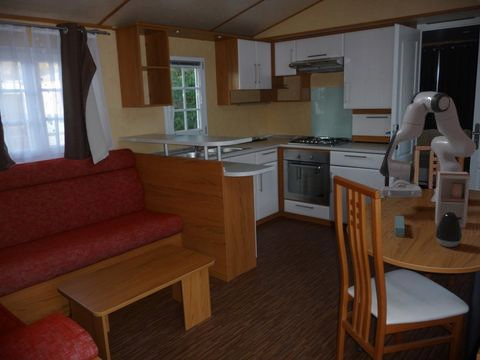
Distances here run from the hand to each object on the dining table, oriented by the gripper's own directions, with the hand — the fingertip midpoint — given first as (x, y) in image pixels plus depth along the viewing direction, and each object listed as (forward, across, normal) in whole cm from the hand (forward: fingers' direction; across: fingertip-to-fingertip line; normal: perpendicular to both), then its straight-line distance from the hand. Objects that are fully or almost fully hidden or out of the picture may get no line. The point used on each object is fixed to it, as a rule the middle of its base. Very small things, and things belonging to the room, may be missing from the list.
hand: (401, 195), depth 213 cm
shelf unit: (0, +23, +14) cm, 27 cm away
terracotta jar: (0, +26, +1) cm, 26 cm away
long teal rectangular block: (+15, -1, +13) cm, 20 cm away
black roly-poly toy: (+31, +19, +14) cm, 39 cm away
